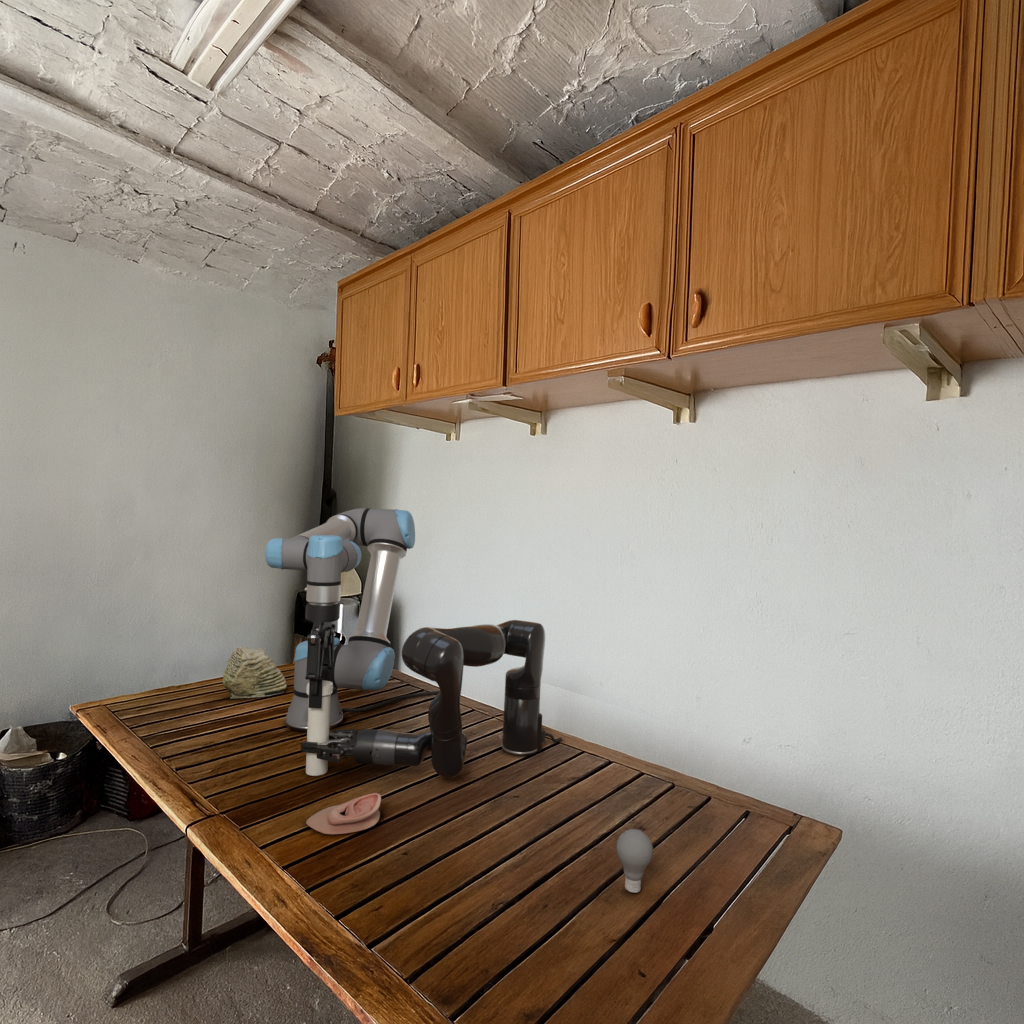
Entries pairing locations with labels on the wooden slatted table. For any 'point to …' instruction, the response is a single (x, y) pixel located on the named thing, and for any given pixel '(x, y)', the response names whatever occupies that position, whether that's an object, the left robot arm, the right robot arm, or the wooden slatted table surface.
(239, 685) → the fossil
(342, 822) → the anatomical model
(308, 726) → the jar
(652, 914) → the wooden slatted table surface
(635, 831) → the light bulb
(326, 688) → the lid
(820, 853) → the wooden slatted table surface
